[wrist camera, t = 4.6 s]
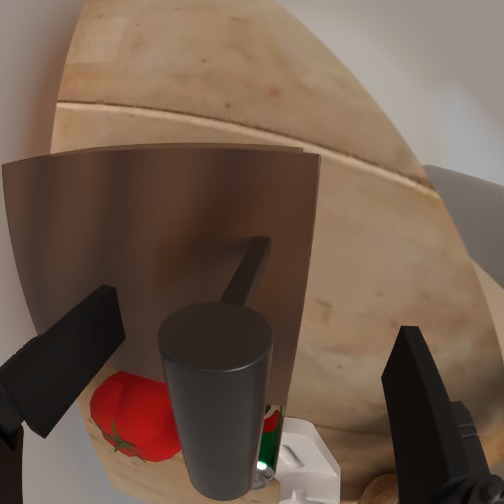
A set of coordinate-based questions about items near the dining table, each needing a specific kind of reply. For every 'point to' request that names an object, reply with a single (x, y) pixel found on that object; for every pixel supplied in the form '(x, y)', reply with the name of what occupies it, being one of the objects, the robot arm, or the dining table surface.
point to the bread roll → (382, 491)
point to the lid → (179, 277)
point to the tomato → (136, 416)
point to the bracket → (306, 466)
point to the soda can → (269, 445)
